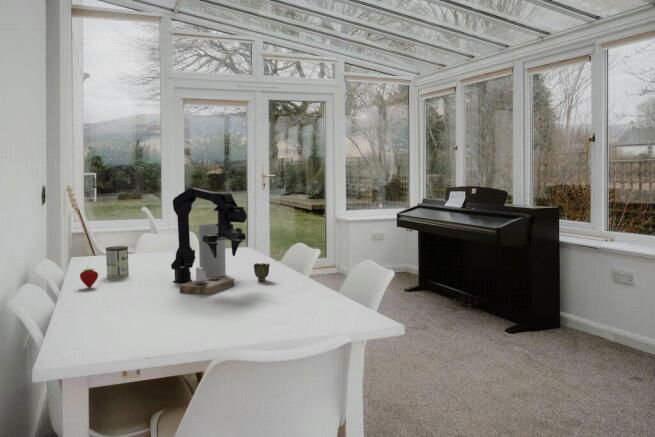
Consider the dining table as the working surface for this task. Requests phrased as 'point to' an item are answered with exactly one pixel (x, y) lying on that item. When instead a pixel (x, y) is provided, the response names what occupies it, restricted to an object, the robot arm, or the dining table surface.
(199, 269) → the lock pin
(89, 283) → the strawberry
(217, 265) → the cylinder vase
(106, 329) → the dining table surface
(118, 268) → the coffee can
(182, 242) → the robot arm
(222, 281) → the mount block
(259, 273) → the cup
